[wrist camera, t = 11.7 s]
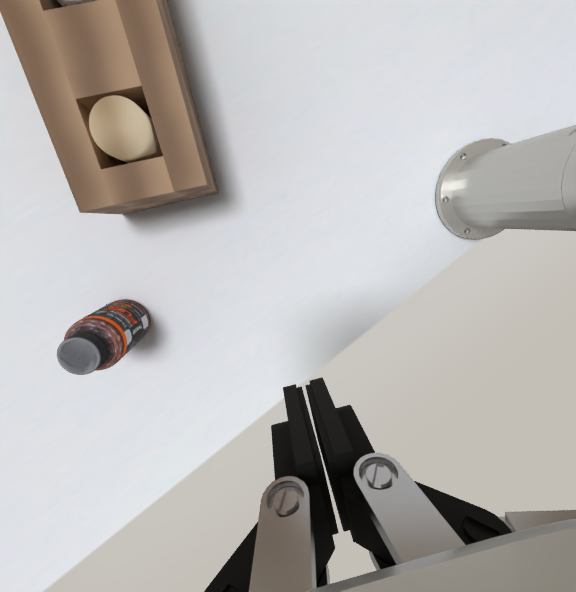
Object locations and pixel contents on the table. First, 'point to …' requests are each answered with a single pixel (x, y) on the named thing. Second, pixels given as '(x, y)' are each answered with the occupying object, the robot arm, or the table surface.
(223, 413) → the table surface
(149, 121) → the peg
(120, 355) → the supplement bottle
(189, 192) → the walnut block
